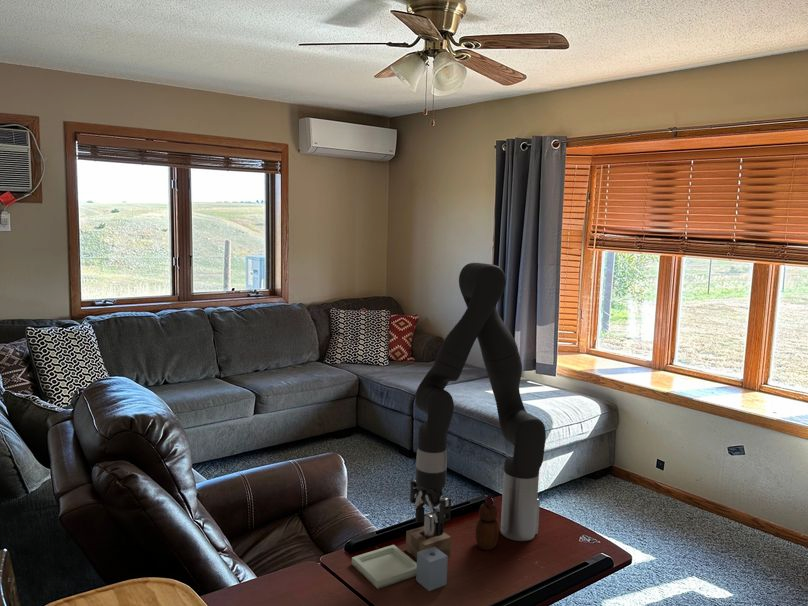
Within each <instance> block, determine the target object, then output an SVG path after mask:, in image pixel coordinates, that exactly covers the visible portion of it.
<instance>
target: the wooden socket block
mask: <svg viewBox="0 0 808 606" xmlns="http://www.w3.org/2000/svg"><path fill="white" fill-rule="evenodd" d="M405 535H406V537H405V551H406V552H408V553H409V554H410V555H411V556H413V557H414V558H415V559H416V560H417V552H419V551H422V550H426V549H429V548H432V547H436V548H437V549H439V550H440V551H441V552H443V553H444V554H445V555H447V556H448V557H450V556H451V546H452V545H451V544H452V537H451V535H449V534H448V533H446V532H445V531H443V534H442V535H440V536H437V537H436V536H435V535H433V537H432V538H429V539H426V538H425V537H424V525H422V526H419V527H416V528H412V529H410V530H406V532H405Z"/></svg>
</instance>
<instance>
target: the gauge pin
mask: <svg viewBox="0 0 808 606" xmlns="http://www.w3.org/2000/svg"><path fill="white" fill-rule="evenodd" d="M434 522H435V519H434V516H433V514H432V513H431V512H430V513H429V512H428V513H424V521H423V526H424V537H425V538H426V539H429V538H432V537H433V535H434Z"/></svg>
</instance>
